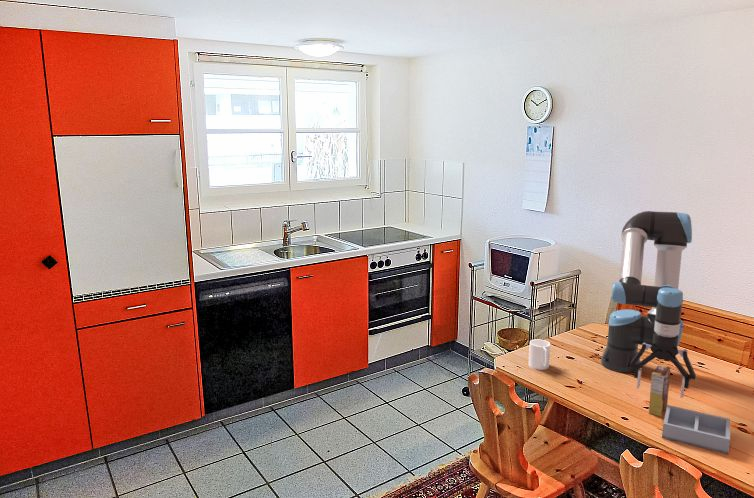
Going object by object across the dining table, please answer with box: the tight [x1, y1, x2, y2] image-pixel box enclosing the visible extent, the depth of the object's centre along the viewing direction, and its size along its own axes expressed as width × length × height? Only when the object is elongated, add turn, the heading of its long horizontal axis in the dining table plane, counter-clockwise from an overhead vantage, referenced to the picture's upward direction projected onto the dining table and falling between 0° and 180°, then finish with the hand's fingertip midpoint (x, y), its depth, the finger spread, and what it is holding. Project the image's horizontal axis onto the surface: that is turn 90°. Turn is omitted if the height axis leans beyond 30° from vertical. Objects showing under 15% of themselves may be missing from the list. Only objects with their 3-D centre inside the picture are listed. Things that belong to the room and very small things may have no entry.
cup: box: [528, 338, 551, 371], centre depth 227 cm, size 8×12×10 cm
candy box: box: [648, 364, 671, 417], centre depth 192 cm, size 9×4×15 cm, turn 140°
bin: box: [661, 404, 731, 455], centre depth 177 cm, size 18×14×5 cm
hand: (659, 391), depth 191 cm, fingers open, 13 cm apart
